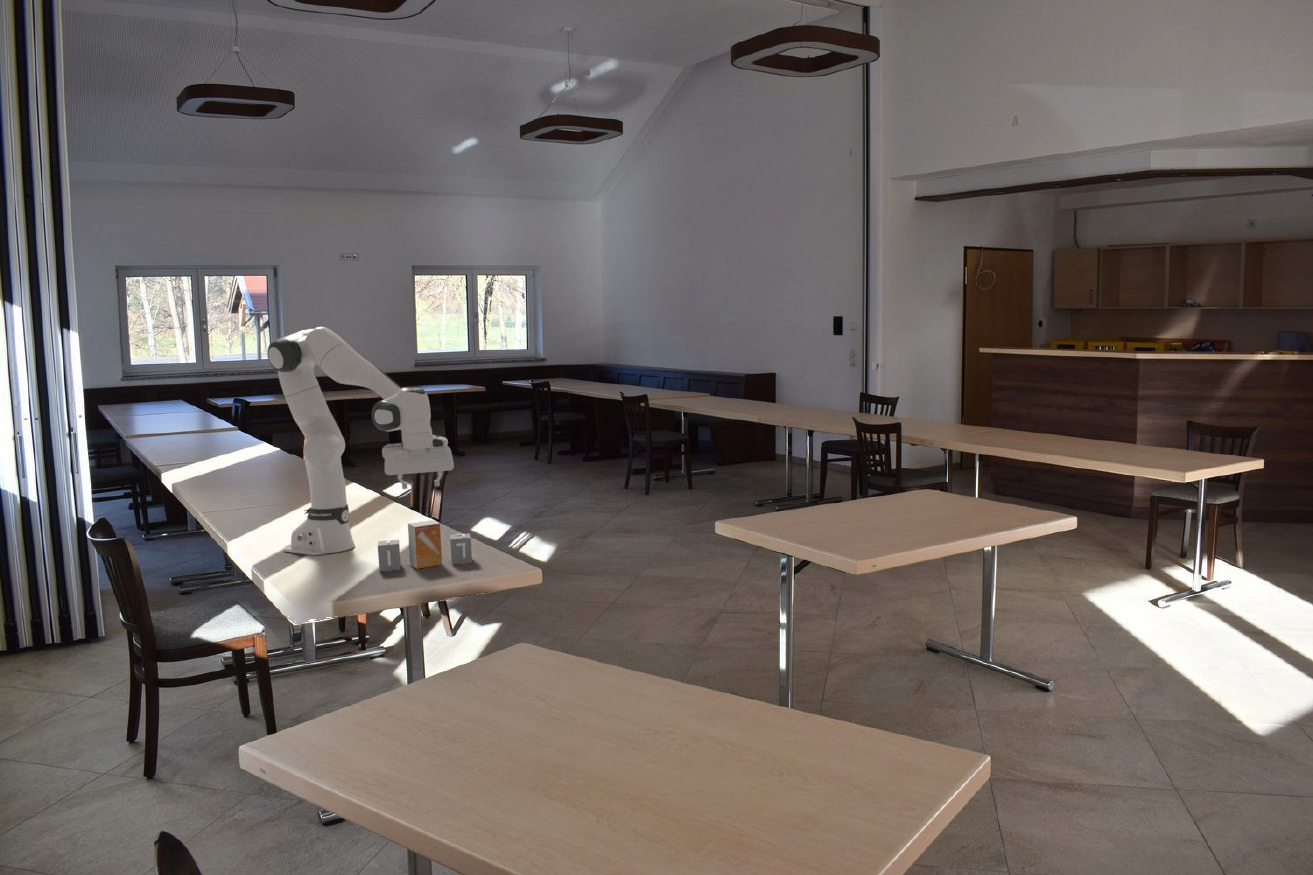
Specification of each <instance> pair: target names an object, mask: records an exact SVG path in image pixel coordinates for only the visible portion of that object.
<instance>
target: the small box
mask: <svg viewBox="0 0 1313 875" xmlns="http://www.w3.org/2000/svg"><path fill="white" fill-rule="evenodd" d="M407 534H408V537H407V538H408V552H409V564H410V566H411V567H413V568H414V569H417V570H418V569H424V568H430V567H436V565H438V566H441V565H443V558H442V542H441V541H442V537H441V523H440V522H438V521H436V520H433V519H430V520H423V521H422V520H421V521H416V522H409V523H407Z"/></svg>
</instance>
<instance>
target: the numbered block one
mask: <svg viewBox="0 0 1313 875" xmlns="http://www.w3.org/2000/svg"><path fill="white" fill-rule="evenodd" d="M377 554H378V556H377V557H378V569H379V573H382V572H381V571H385V572H393V571H392V570H396V571H401V565H402V564H401V550H400V539H389V540H378V543H377Z"/></svg>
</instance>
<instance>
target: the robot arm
mask: <svg viewBox="0 0 1313 875" xmlns="http://www.w3.org/2000/svg"><path fill="white" fill-rule="evenodd" d="M266 353H267V359H268V361H269V364H270V365H271V367H272V368H273V369H275V370H276V371H277V375H278V380H279V384H280V387H281V390H282V394H283V395H284V397H285V398H284V399H285V400H286V403H287V406H288V408H289V411H290V413H291V415H292V418H293V419H294V420H293V421H295V423H296V425H297V426H298V427H299V429H300V431H301V433H302V434H303V436H304V439H305V440H306V441H305V442H304V445H303V456H304V464H305V468H306V474H307V480H308V483H309V485H308V486H309V495H310V507H309V508H308V509H305V510H304V515H306V514H307V516H306V517H307V518H306V519H305V520H304V521H303V522H302V523H300V524H299V525H298V526H297V527H296V528H295V529H294V530H293V531H292V532H291V538H290V544H288V545H286V546H284V549H283V551H284V552H285V553H287V552H288V553H292V554H293V553H294V554H301V555H309V556H310V555H311V556H320V555H325V554H326V555H327V554H330V553H331V554H333V553H334V554H335V553H339V552H340V553H341V552H345V551H348V550H351V549H353V548H355V547H356V545H355V541H354V539H353V535H352V531H351V527H350V521H349V520H350V509H349V504H348V501H347V491H346V490H347V489H346V488H347V487H346V480H345V477H344V476H345V475H344V470H343V465H342V455H343V453H344V452H345V449H346V442H345V438H344V436H343V433H342V432H341V429H340V428H339V426H338V423H337V422H336V420H335V418H334V416H333V414H332V413H331V411H330V408H329V406H328V404H327V401H326V399H325V397H324V394H323V391H322V389H321V386H320V384H319V381H318V380H317V377H316V375H315V366H316V365H317V366H318V367H319V369H320V370H321V371H323V373H325V375H326V376H328V377H329V378H330V379H332V380H333V381H335V382H336V383H338V384H343V385H351V386H357V387H358V386H359V387H363V388H367V389H370V390H371V391H373V392H375V393H376V394H377V395H378V396H380V397H381V399H382V400H379V401H378V402H376V403H375V404H374V405H373V407H372V410H371V419H372V420H371V421H372V422H373V424H374V426H375V427H376V428H377V429H378V430H380V431H381V432H382V431H383V432H394V431H399V430H400V432H401V442H398V443H397V442H395V443H387V444H386V445H385V446H383V447H382V449H381V454H382V458H383V459H384V473H385V475H387V476H397V480H399V482H400V484H401V489H402V490H407V489H408V482H406V481H404V480H403V475H410V474H422V473H434V472H436V473H437V475H438V477H437V478H436V479H434V480H433V481H434V487H440V481H441V479H442V476H443V474H444V473H443V472H445V471H453V469H454V468H455V464H454V457H453V454H452V450H451V448H450V446H448V444H449V441H448V438H446V437H444V436H440V435H435V434H433V429H432V426H431V418H432V415H431V414H432V413H431V405H430V400H429V399H430V398H429V396H428V393H427V391H426V390H425V389H423V388H420V387H416V386H415V387H414V386H413V387H412V386H407V387H401V386H400V385H399V384H398V383H397V382H396V381H394V380H393V379H392V378H391V377H390V376H388V374H386V373H385V372H384V371H382V370H381V369H380V368H378V367H377V366H376V365H374V364H373V363H372V362H370V361H368V360H367V359H366V358H364V357H363V356H362V355H360V353H358V352H357V351H356V350H355V349H354V348H353V347H352V346H351V345H350V344H348V342H346V341H345V340H344V339H343V338H342V337H341V336H340V335H338V334H337V333H335V332H334V331H333V330H332V329H330V328H328V327H326V326H319V327H312V328H308V329H305V330H304V329H303V330H300V331H296V332H294V333H292V334H288V335H286V336H284V337H280V338H277V339H275V340H274V341H272V342H270V344H269V345H268V347H267V352H266Z"/></svg>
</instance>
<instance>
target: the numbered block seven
mask: <svg viewBox="0 0 1313 875" xmlns="http://www.w3.org/2000/svg"><path fill="white" fill-rule="evenodd" d="M471 538H472V537H471V533H456V534H449V540H450V541H449V543H450V558H451V565H452V564H460V563H472V564H473V556H472V553H473V552H472V539H471ZM460 565H461V564H460Z"/></svg>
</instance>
